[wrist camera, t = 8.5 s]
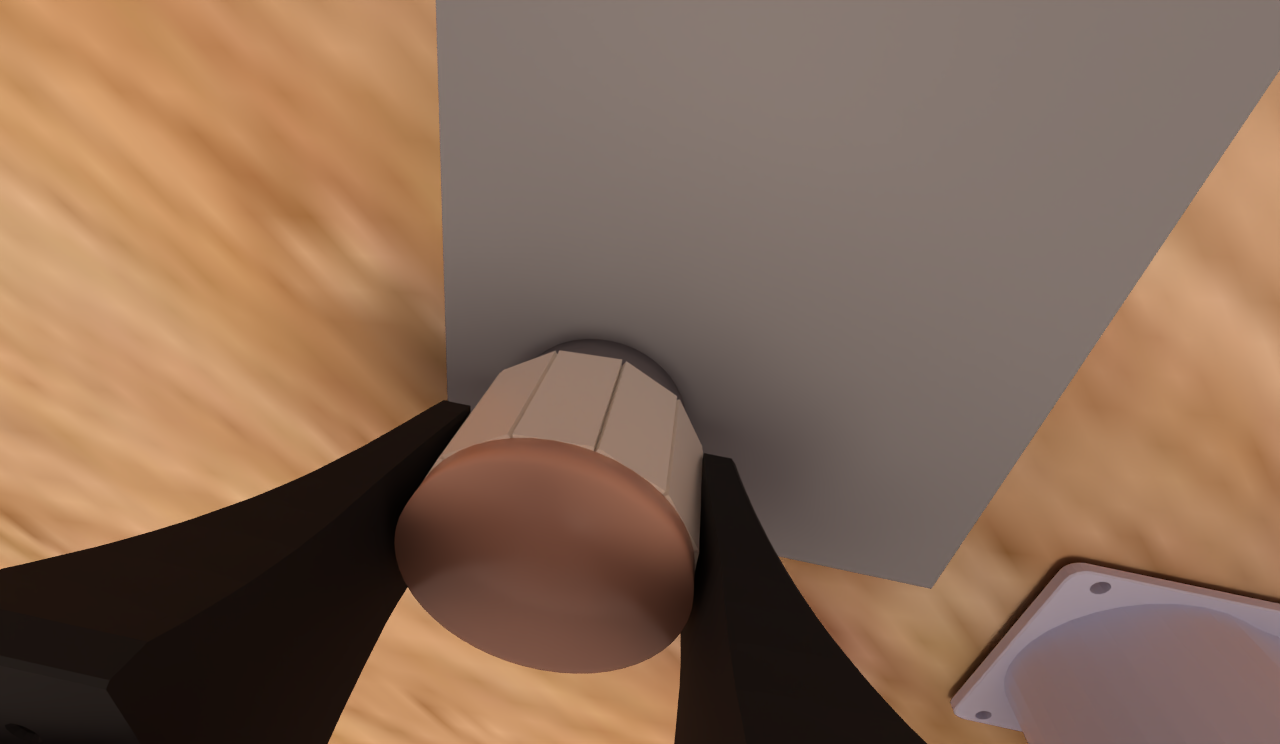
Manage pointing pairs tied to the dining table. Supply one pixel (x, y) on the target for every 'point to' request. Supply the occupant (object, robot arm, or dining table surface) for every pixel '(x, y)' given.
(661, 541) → the cap
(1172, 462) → the dining table surface
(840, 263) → the knob mounting plate
